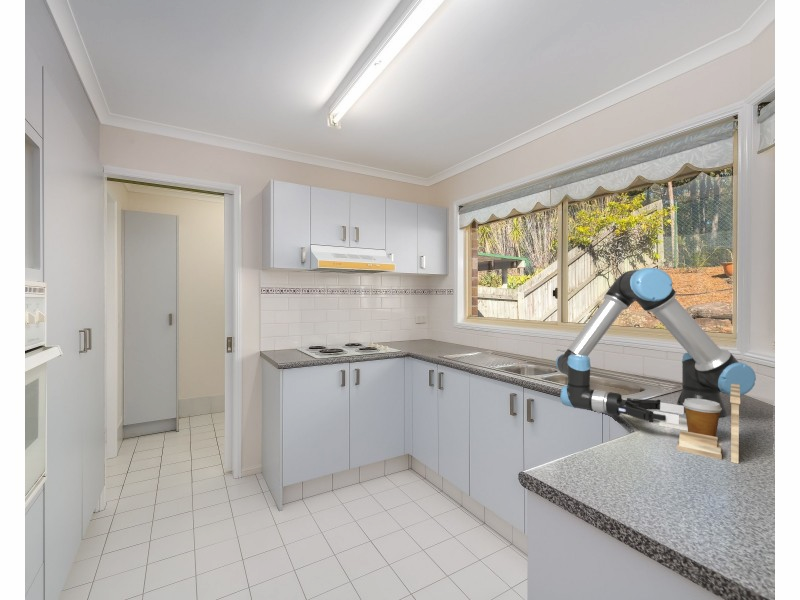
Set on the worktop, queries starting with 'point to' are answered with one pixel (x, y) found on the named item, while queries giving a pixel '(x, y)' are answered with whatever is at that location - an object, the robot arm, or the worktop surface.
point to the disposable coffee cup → (702, 416)
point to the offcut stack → (699, 444)
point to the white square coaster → (681, 425)
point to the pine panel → (735, 422)
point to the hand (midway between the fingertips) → (681, 414)
